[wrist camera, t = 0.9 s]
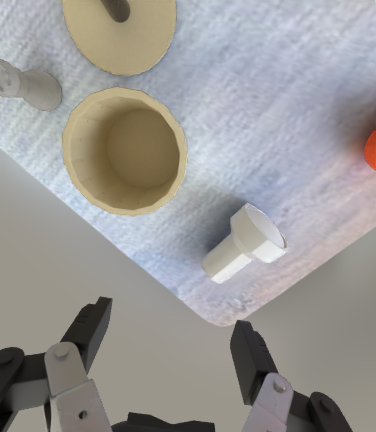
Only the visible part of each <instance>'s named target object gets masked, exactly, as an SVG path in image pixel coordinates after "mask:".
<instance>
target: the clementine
mask: <svg viewBox="0 0 376 432" xmlns="http://www.w3.org/2000/svg"><path fill="white" fill-rule="evenodd" d="M364 154H365V159H366V161H367V163H368V164H369V165H370V166H371V167H372V168H373V169H374V170H376V129H375V130H374V131H373V132H372V133H371V135H370V136H369V138H368V139H367V142H366V144H365V150H364Z"/></svg>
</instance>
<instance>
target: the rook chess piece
mask: <svg viewBox="0 0 376 432" xmlns="http://www.w3.org/2000/svg"><path fill="white" fill-rule="evenodd" d="M0 96H1V97H23V98H24V100H25V101H26V102H27V103H29V104H30V105H31V106H32V107H35V108H37V109H40V110H43V111H51V110H53V109H56V108H57V106H58V105H59V104H60V102H61V97H62V94H61V88H60V86H59V84H58V82H57V80H56V79H55V78H54V77H53V76H52V75H51V74H49V73H47V72H45V71H41V70H33V69H32V70H28V71H26V72H21V71H20V70H19V69H17V68H15V67H13V66H12V65H11V64H10V63H9V62H7V61H4V60H2V59H0Z"/></svg>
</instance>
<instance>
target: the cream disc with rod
mask: <svg viewBox="0 0 376 432" xmlns="http://www.w3.org/2000/svg"><path fill="white" fill-rule="evenodd" d="M62 5H63V12H64V18H65V21H66V25H67V28H68V30H69V33H70V35H71V37H72V39H73V41H74V42H75V44H76V46H77V47H78V49H79V50H80V51H81V52H82V54H83V55H84V56H85V57H86V58H87V59H88V60H89V61H90V62H92V63H93V64H94V65H96V66H97V67H98V68H100V69H102V70H104V71H105V72H108V73H111V74H114V75H118V76H133V75H138V74H141V73H143V72H146V71H147V70H149V69H151V68H152V67H153V66H155V65H156V64H157V63H158V62H159V61H160V60H161V59H162V57H163V56H164V55H165V53H166V51H167V50H168V48H169V46H170V44H171V41H172V39H173V35H174V31H175V25H176V0H62Z"/></svg>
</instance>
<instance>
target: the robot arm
mask: <svg viewBox="0 0 376 432" xmlns="http://www.w3.org/2000/svg"><path fill="white" fill-rule="evenodd" d="M111 307H112V298H107V297H99V299H98V301H97V303H96V304H95V305H94V304H88V305H86V306H85V307H83V308H82V309H81V311H80V312H79V314H78V316H77V317H76V318H75V320H74V322H73V323H72V324H71V326H70V327H69V329H68V330H67V332H66V333H65V335H64V336H63V338H62V340H61V341H60V343H57V344H55V345H53V346H52V347H50V348H49V349H48V350H47V352H45V353H41V354H34V355H26V356H24V352H23V350H22V349H20V348H17V347H9V348H5V349H2V350H0V432H7V430H8V428H9V427H10V425H11V423H12V422H13V420H14V418H15V416H16V415H17V413H18V411H19V410H24V409H28V408H33V407H38V406H42V411H43V417H44V424H45V431H46V432H215V425H214V423H209V422H201V421H189V422H184V423H178V424H169V423H167V422H165V421H163V420H160V419H158V418H156V417H154V416H151V415H147V414H138V413H131V412H129V414H128V419H127V421H123V422H120V423H117V424H114V425H112V426H110V423H109V420H108V418H107V415H106V412H105V409H104V407H103V404H102V401H101V399H100V396H99V393H98V390H97V388H96V385H95V382H94V381H93V379H90V380H89V379H88V377H87V374H88V372H89V370H90V367H91V365H92V363H93V360H94V358H95V356H96V353H97V351H98V349H99V347H100V344H101V342H102V340H103V337H104V335H105V333H106V330H107V328H108V324H109V320H110V313H111ZM230 349H231V354H232V358H233V361H234V365H235V369H236V373H237V377H238V381H239V385H240V389H241V393H242V397H243V401H244V404H245V405H251V406H252V409H251V411H250V413H249V416H248V418H247V420H246V423H245V425H244V427H243V429H242V432H353V431H352V429H351V428H350V426H349V424H348V423H347V421H346V419H345V417H344V416H343V414H342V412H341V410H340V409H339V407H338V406H337V405H336V403H335V402H334V401H333V400H332V399H331V398H329V397H328V396H327V395H325V394H323V393H320V392H313V393H312V394H311V396H310V398H309V397H307V396H305V395H303V394H300V393H298V392H296V391H294V390H293V388H292V386H291V384H290V383H289V382H288V381H287V379H285V378H284V377H283V376H281V375H279V373H278V371H277V369H276V366H275V364H274V362H273V359H272V357H271V355H270V353H269V351H268V348H267V347H266V344H265V341H264V340H263V338H262V337H261V335H260V334H259V333H258V332H256V331H254V330H253V328H252V326H251V323H250V322H248V321H242V320H237V322H236V325H235V328H234V331H233V334H232V337H231V342H230Z"/></svg>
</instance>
